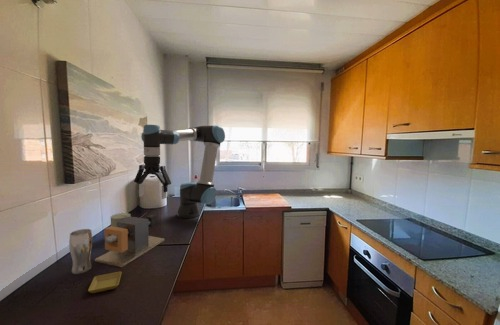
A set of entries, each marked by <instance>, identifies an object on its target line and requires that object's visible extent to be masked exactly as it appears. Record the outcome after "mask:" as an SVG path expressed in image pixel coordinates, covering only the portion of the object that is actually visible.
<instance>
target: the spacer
mask: <svg viewBox="0 0 500 325" xmlns="http://www.w3.org/2000/svg"><path fill="white" fill-rule="evenodd" d="M111 235H117V236H118V243H117V242H116V241H114V242H112V243H109V244H107V243H106V242H105V241H104V250H106V251H115V252H120V253H122V252H124V251H126V250H128V229H124V228H119V227H113V226H111V225H110V226H108V227H105V228H104V239H105V238H106V237H108V236H111Z"/></svg>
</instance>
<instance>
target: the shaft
mask: <svg viewBox="0 0 500 325" xmlns="http://www.w3.org/2000/svg"><path fill="white" fill-rule="evenodd" d="M145 219H148V228H149V227H150V228H152V227H154V226H156V225H157V224H158V215H157V214H150V215H148V216H146V218H145ZM128 235H129V229H128ZM116 240H118V236H117V235H111V236H108V237H106V238H105V237H104V243H105V242H106V243H107V244H109V243H112V242H114V241H115V242H117V241H116Z"/></svg>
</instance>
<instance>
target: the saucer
mask: <svg viewBox="0 0 500 325" xmlns="http://www.w3.org/2000/svg"><path fill="white" fill-rule="evenodd" d="M122 274H123V272H122V271H115V272H110V273H105V274H100V275H95V276H94V277H93V278H92V281H91V283H90V285H89V287H88V289H87V292H89V293H91V294H96V293H100V292H106V291H110V290H114V289H117V288H118V286H119V285H120V281H121V277H122Z"/></svg>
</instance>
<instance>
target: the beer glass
mask: <svg viewBox="0 0 500 325" xmlns="http://www.w3.org/2000/svg"><path fill="white" fill-rule="evenodd" d="M68 245H69V252H70V256H71V259H72V268H71V274H73V275H74V274H75V275H80V274H84V273H86V272H88V271H90V270H91V269H92V266H93V265H92V262H91V255H92V254H91V253H92V248H93V234H92V229H90V228H82V229H77V230H73V231H72V232H70V233H69V242H68Z"/></svg>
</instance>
